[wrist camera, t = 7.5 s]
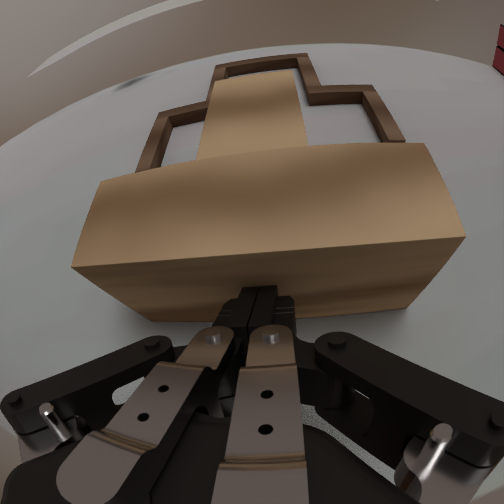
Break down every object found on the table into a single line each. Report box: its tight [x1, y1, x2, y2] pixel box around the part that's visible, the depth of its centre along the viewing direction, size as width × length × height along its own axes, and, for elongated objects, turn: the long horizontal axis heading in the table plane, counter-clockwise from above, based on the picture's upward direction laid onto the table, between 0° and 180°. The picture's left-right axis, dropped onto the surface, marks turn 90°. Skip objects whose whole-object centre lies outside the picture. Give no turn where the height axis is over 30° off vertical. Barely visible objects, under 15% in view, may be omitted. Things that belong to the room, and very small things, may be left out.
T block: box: [71, 70, 466, 322], centre depth 16 cm, size 13×16×8 cm
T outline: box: [135, 53, 406, 173], centre depth 27 cm, size 20×23×2 cm
